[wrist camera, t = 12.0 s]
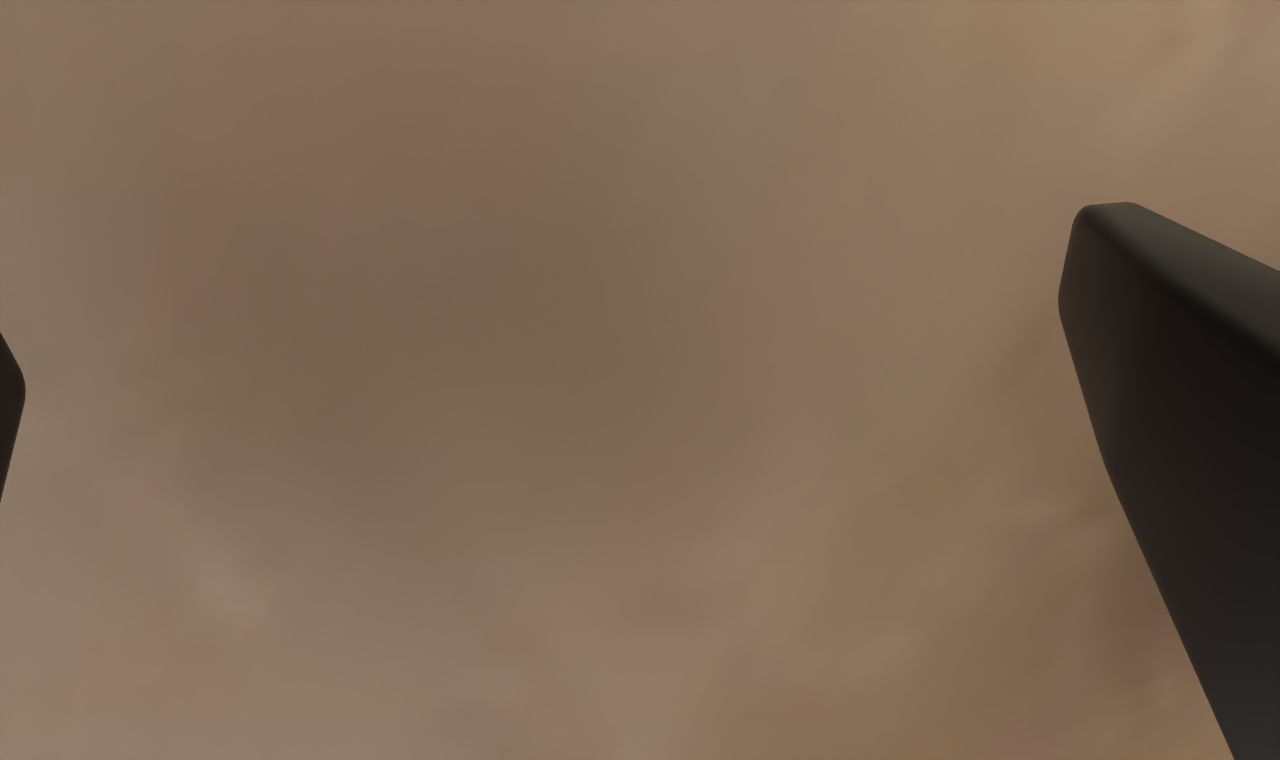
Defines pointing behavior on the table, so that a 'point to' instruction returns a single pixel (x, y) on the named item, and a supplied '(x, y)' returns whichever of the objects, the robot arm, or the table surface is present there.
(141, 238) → the table surface
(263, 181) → the table surface
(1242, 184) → the table surface
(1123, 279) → the robot arm
